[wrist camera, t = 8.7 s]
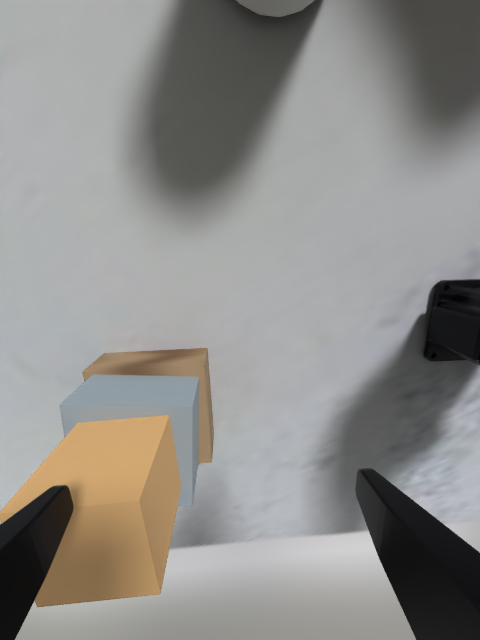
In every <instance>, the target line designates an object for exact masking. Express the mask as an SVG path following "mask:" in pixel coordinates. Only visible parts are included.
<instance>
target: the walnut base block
mask: <svg viewBox="0 0 480 640" xmlns="http://www.w3.org/2000/svg"><path fill="white" fill-rule="evenodd" d="M82 373H83V377H84V382H85V381H86V380H87V379H88V378H89V377H91V376H92V375H93V374H95V375H144V376H193V377H199V449H198V463H209V462H212V453H213V439H214V429H213V416H212V403H211V390H210V376H209V363H208V350H207V348H197V349H178V350H159V351H140V352H121V353H104V354H103V355H102V356H100V357H99V358H98V359H97V360H96V361H95V362H93V363H92V364H91V365H90V366H89V367H87V368H86V369H85V370H84V371H83V372H82Z"/></svg>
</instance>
